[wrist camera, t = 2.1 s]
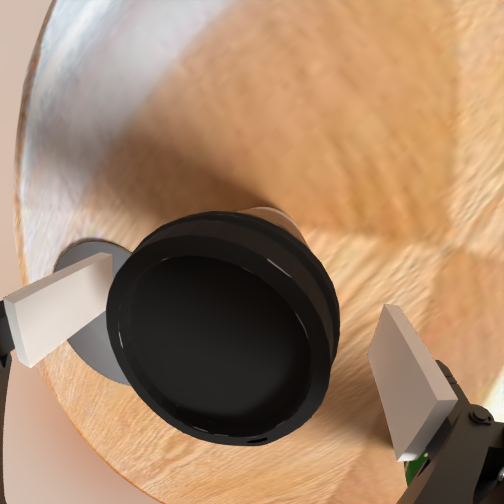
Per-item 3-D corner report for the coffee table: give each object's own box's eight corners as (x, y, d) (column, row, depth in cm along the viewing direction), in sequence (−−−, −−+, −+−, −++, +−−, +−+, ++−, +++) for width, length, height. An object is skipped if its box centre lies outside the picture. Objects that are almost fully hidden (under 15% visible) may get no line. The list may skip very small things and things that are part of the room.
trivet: (49, 230, 26) (45, 231, 25) (186, 257, 24) (183, 259, 23) (66, 356, 30) (63, 359, 30) (182, 400, 28) (180, 403, 28)
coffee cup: (240, 311, 24) (174, 459, 10) (191, 219, 23) (51, 290, 9) (336, 272, 22) (379, 419, 8) (290, 170, 21) (271, 163, 7)
